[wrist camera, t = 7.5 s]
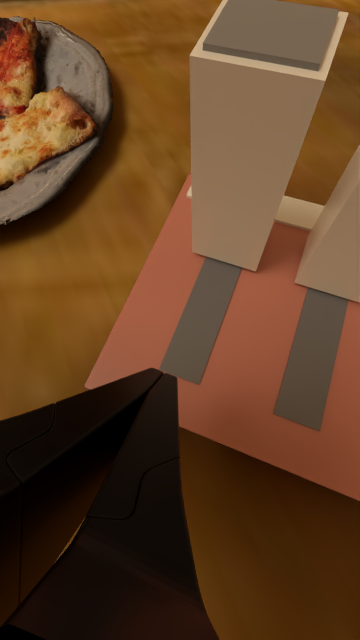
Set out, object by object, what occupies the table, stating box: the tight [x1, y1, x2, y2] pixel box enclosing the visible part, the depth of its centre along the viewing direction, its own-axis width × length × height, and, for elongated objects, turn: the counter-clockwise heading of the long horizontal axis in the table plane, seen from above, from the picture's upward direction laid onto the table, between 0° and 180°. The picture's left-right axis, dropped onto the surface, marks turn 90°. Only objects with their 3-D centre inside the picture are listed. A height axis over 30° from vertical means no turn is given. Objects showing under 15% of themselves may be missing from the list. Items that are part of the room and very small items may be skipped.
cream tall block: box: [190, 0, 348, 271], centre depth 12 cm, size 3×4×9 cm
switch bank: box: [84, 173, 360, 501], centre depth 15 cm, size 14×19×2 cm
